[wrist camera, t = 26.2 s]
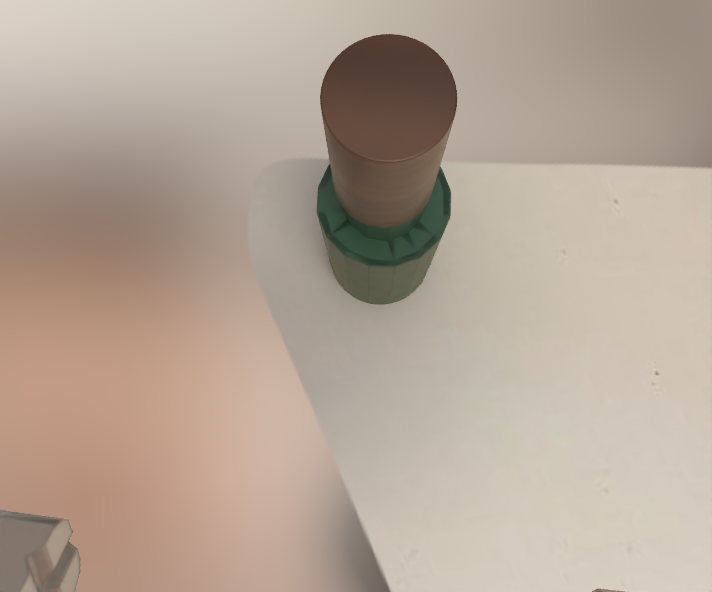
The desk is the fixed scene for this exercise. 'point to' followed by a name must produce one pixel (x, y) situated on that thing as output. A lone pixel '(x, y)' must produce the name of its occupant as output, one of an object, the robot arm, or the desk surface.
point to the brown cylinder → (387, 126)
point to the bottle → (381, 245)
